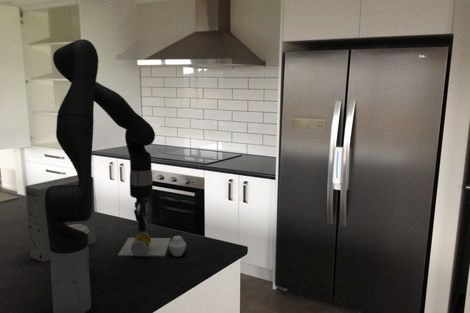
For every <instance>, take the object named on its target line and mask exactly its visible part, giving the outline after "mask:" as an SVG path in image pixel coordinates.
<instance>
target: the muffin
mask: <svg viewBox="0 0 470 313" xmlns="http://www.w3.org/2000/svg"><path fill="white" fill-rule="evenodd" d="M186 247H187V243H186V241H184V239H183V237H182V236H181V235H175V236H172V238H171V240H170V243H169V245H168V248H169V251H170V252H171V254H172V256H173V257H176V258H177V257H181V256H182V255H183V254H184V252H185V250H186Z"/></svg>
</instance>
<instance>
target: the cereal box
mask: <svg viewBox="0 0 470 313" xmlns="http://www.w3.org/2000/svg"><path fill="white" fill-rule="evenodd" d="M78 183H79V180H78V175H77V174H76V175H71V176H67V177H61V178H56V179H53V180H47V181H43V182H38V183H33V184H28V185H25V199H26V213H27V227H28V242H29V256H30V258H31V259H32V260H33V259H34V260H36V261H39V262H41V263H46V262H48V261H49V262H50V250H49V239H48V228H47V220H46V212H45V194H46V191H47V189H48V188H49V187H50V186H56V185H78ZM94 185H95V183H94V177H93V176H92V213H91V216H90V218H89V219H88V220H87V221H77V222H76V221H75V222H64V223H65V224H66V225H73V224H83V225H85V226H87V227H88V229H89V233H88V246H89V245H92V244H95V243H96V242H97V234H96V233H97V232H96V231H97V230H96V229H97V228H96V209H95V208H96V207H95V206H96V205H95V186H94Z"/></svg>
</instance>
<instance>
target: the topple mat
mask: <svg viewBox="0 0 470 313" xmlns="http://www.w3.org/2000/svg"><path fill="white" fill-rule="evenodd" d="M135 238H136V237H128V238H127V239H126V242H124V244H123V246H122V248H121V249H120V251H119V252H118V254H117V257H137V256H136V255H134V254H133V253H132V251H131V245H132V243H133V242H134V240H135ZM150 239H151V243H150V245H149V247H148V249H147V251H146V253H145V254H144V255H142V256H141V257H165V256H166V253H167V250H168V248H169V243H170V242H171V241H172V238H171V237H150Z"/></svg>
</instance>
